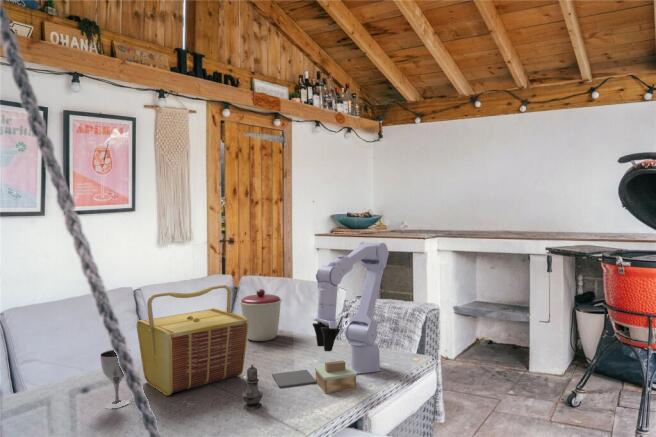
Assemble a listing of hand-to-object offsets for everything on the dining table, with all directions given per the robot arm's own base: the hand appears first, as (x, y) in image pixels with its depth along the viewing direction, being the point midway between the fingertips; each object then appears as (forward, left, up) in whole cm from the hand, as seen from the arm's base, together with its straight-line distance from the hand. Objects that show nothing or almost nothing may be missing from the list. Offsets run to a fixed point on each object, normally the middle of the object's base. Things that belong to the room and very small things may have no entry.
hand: (324, 348), depth 154 cm
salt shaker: (+24, +7, -12) cm, 27 cm away
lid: (-3, 0, -8) cm, 9 cm away
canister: (+9, -64, -12) cm, 66 cm away
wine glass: (+61, -8, -12) cm, 62 cm away
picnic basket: (+39, -21, -12) cm, 46 cm away
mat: (+8, -10, -12) cm, 17 cm away
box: (-3, 0, -12) cm, 12 cm away
